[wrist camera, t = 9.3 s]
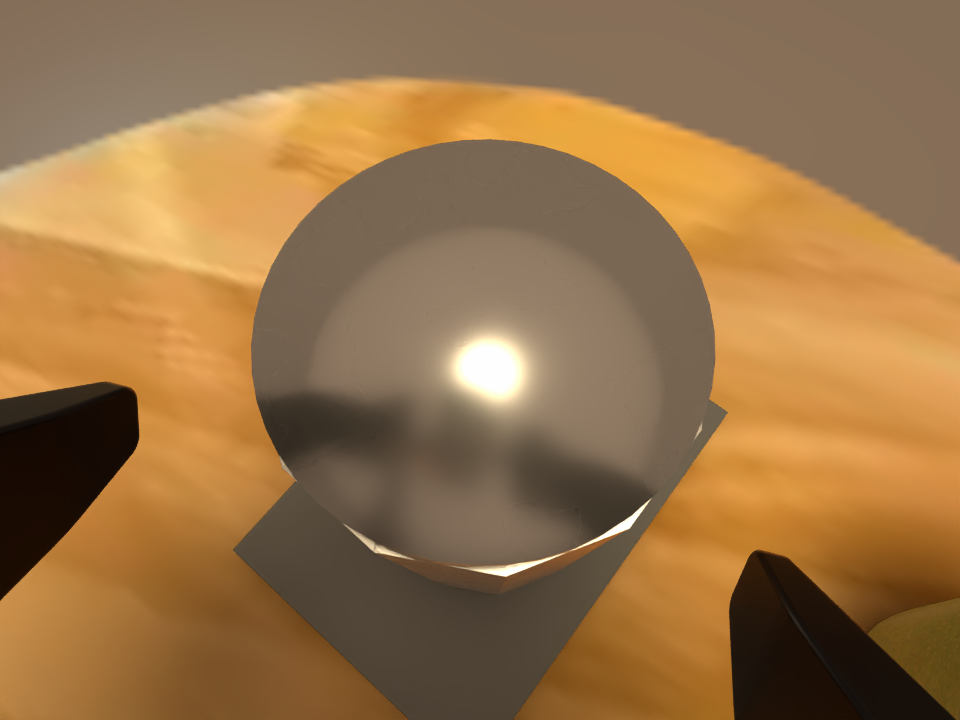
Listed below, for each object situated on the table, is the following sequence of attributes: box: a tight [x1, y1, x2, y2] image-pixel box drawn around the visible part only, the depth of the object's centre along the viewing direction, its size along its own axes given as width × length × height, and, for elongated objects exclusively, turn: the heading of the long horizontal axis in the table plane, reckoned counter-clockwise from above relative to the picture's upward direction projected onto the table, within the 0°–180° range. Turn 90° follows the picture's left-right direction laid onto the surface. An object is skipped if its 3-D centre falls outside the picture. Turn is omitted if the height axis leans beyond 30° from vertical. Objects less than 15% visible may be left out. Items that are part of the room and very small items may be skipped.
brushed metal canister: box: [251, 139, 715, 595], centre depth 16 cm, size 7×7×12 cm
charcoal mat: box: [233, 400, 728, 720], centre depth 22 cm, size 14×10×1 cm
